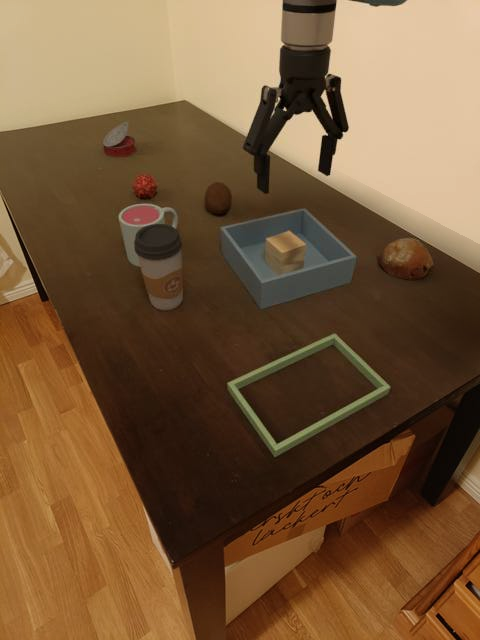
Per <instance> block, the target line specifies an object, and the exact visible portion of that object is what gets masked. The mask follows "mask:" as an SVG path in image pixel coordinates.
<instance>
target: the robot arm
mask: <svg viewBox="0 0 480 640" xmlns="http://www.w3.org/2000/svg"><path fill="white" fill-rule="evenodd" d="M350 1H351V2H355V3H361V4H368V5H369V6H371V7H375V8H377V7H382V6H383V7H387V6H388V7H397V6H401V5H404V4H405V3H406V2H407V1H408V0H349V2H350ZM337 3H338V0H282V5H281V6H282V7H281V29H280V42H281V43H283V45H282V46H281V47H280V48H279V60H278V61H279V63H278V64H279V67H278V73H279V77H280V79H279V80H280V81H279V84H278V86H273V87H271V86H268V85H266V84H264V85H262V87H261V91H260V101H259V104H258V106H257V108H256V111H255V114H254V117H253V120H252V122H251V124H250V127H249V130H248V132H247V135H246V137H245V140H244V143H243V146H242V149H243V151H245V152H247V154H250V156H253V172H254V173H255V174H256V189H257V190H259V191H260V192H262V193H263V194H264V195H267V194H269V193H270V173H271V171H270V170H271V155H270V154H268V152H269V151H270V149H271V147H272V146H273V144H274V143H275V141H276V140H277V138H278V136H279V135H280V134H281V132H282V130H283V128H284V127H285V126H286V124H287V122H288V121H291V119H292V118H293V117H294V116H299V115H301V114H303V113H312V112H313V114H314V116H315V117H316V119H317V120H318V122H319V123H320V125H321V127H322V128H323V130H324V131H325V133H326V134H323V135H322V136H321V143H320V150H319V158H318V167H317V172H319V173H321V174H322V175H324V176H326V177H329V176H331V173H332V165H333V159H334V156H335V155H336V152H337V146H338V140H339V141H341V140H342V139H343V137H344V133H347V132H349V129H350V125H349V122H348V119H347V113H346V109H345V104H344V100H343V96H342V92H341V90H342V88H341V87H342V77H340V76H338V75H335V74H332V73H329V70H330V63H331V54H332V53H331V52H332V49H331V47H330V46H329V45H330V44H331V43H332V42H333V38H334V28H335V19H336V9H337ZM324 92H325V96H326V99H327V103H328V107H329V110H328V109H327V105H326V103H325V101H324V99H323V98H322V96H323V94H324ZM329 111H330V112H329Z"/></svg>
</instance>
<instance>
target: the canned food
mask: <svg viewBox="0 0 480 640" xmlns="http://www.w3.org/2000/svg"><path fill="white" fill-rule="evenodd" d="M129 127H130V123H129V121H124V122H122V123H120V124H118V125H117V126H115V127H114V128H112V130H110V131H109V132H108V133H107V134H106V135H105V136H104V139H103V140H102V146H103V150H104V154H105V156H108V157H111V158H125V157H128V156H132V155H133V154H135V153H136V151H137V148H136V141H135V140H136V139H135V138H134V137H132V136H129V135H127V134H128V131H129Z"/></svg>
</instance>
